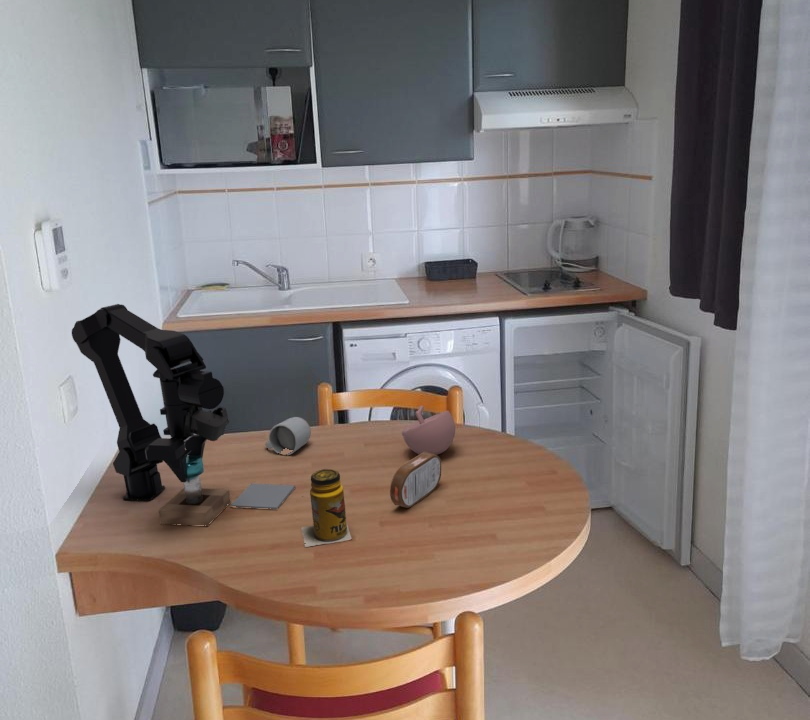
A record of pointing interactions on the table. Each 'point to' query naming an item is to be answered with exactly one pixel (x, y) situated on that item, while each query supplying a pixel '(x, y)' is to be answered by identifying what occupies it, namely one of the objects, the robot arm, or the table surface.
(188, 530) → the table surface
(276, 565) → the table surface
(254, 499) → the slate mat
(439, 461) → the tin
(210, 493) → the eye block
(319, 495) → the condiment
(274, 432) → the ceramic mug
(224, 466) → the table surface
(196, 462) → the teal topped white bottle
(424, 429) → the mortar and pestle
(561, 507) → the table surface
